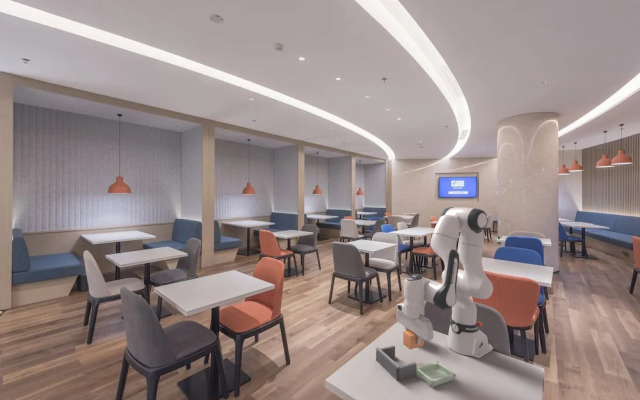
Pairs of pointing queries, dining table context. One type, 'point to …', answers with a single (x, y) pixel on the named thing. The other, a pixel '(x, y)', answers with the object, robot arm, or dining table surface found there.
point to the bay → (394, 364)
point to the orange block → (411, 340)
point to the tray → (435, 374)
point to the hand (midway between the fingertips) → (413, 340)
